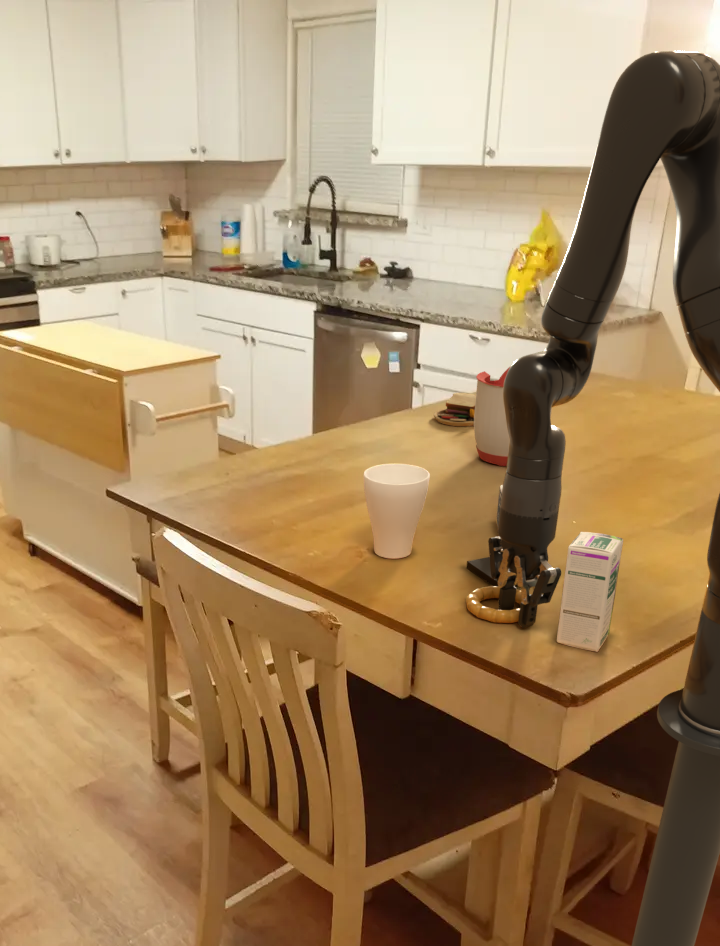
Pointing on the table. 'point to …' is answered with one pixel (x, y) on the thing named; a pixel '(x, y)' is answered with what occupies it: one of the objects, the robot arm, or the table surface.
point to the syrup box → (589, 590)
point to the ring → (490, 613)
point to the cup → (395, 506)
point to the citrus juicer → (491, 420)
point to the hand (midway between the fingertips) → (515, 617)
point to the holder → (485, 570)
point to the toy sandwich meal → (458, 410)
